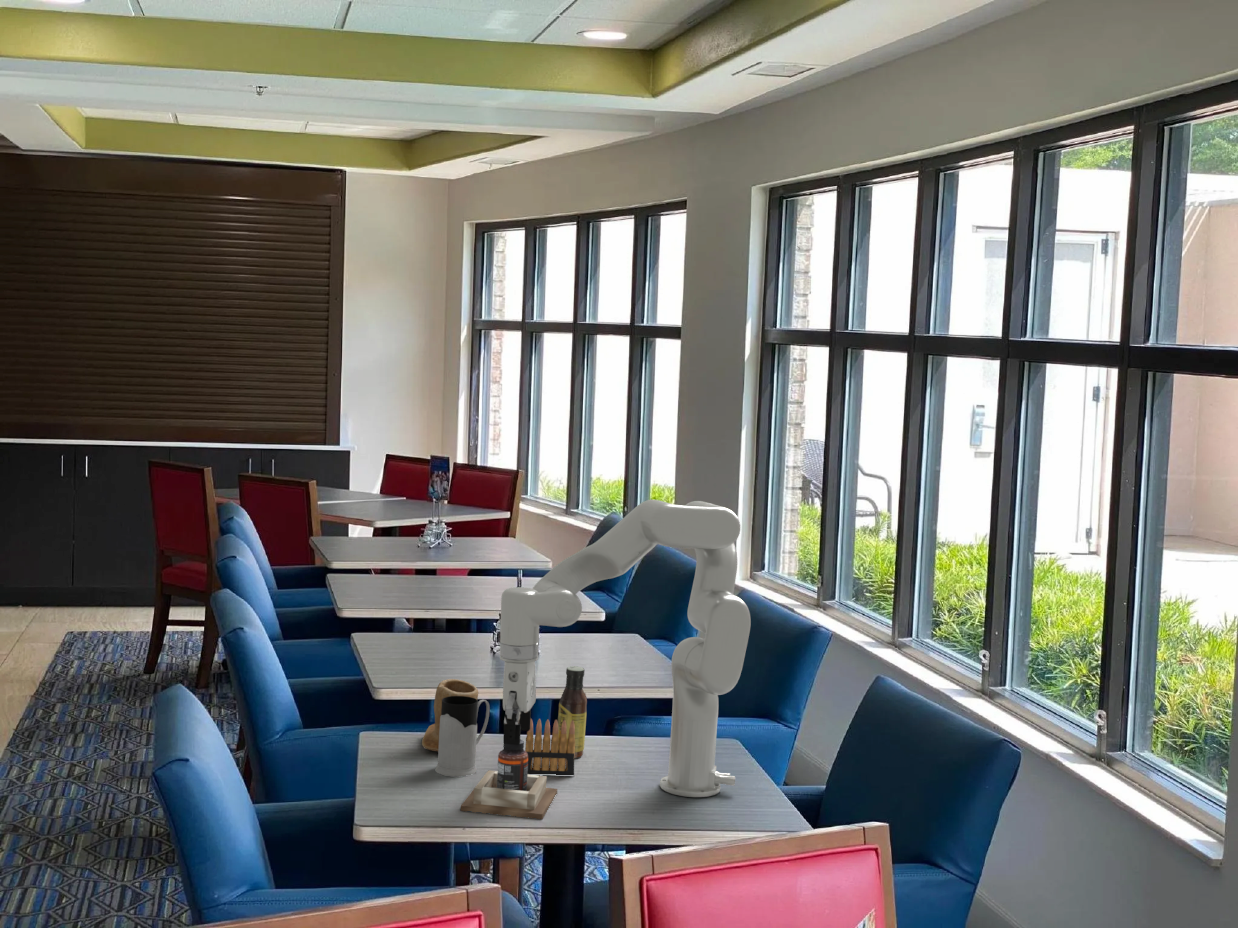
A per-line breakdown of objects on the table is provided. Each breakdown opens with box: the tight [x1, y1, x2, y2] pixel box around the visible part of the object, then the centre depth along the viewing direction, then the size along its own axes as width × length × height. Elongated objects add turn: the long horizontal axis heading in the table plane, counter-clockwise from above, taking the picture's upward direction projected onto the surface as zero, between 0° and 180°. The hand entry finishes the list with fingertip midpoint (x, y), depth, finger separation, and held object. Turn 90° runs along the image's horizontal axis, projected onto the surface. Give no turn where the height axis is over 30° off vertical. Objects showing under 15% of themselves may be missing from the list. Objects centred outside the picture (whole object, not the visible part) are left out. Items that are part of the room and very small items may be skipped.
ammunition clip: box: [524, 718, 575, 776], centre depth 283 cm, size 11×2×12 cm, turn 94°
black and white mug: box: [435, 696, 491, 778], centre depth 284 cm, size 9×14×15 cm, turn 146°
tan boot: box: [421, 678, 479, 752], centre depth 299 cm, size 15×12×15 cm
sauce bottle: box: [557, 665, 588, 759], centre depth 297 cm, size 7×6×20 cm
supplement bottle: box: [497, 738, 528, 791], centre depth 263 cm, size 6×6×11 cm
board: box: [460, 770, 558, 820], centre depth 264 cm, size 16×16×4 cm
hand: (517, 736), depth 263 cm, fingers open, 9 cm apart
